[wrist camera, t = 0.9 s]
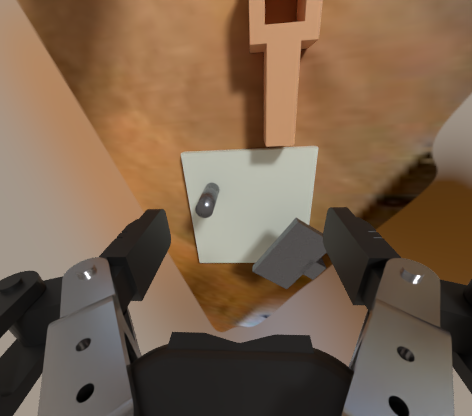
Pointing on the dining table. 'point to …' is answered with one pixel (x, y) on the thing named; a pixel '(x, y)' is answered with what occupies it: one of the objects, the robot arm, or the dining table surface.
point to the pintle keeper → (280, 247)
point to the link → (282, 64)
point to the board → (248, 198)
